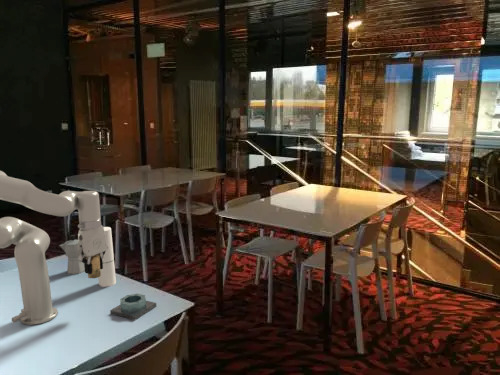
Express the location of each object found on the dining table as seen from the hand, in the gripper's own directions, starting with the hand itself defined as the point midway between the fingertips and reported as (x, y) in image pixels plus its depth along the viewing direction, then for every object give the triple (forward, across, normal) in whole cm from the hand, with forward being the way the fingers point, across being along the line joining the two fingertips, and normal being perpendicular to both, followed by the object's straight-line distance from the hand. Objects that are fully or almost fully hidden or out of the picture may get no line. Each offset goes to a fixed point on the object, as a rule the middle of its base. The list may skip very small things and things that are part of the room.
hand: (94, 270), depth 162 cm
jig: (+16, +6, -14) cm, 21 cm away
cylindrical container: (+16, +20, +15) cm, 30 cm away
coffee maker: (+16, +26, +40) cm, 51 cm away
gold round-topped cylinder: (+2, 0, 0) cm, 2 cm away
